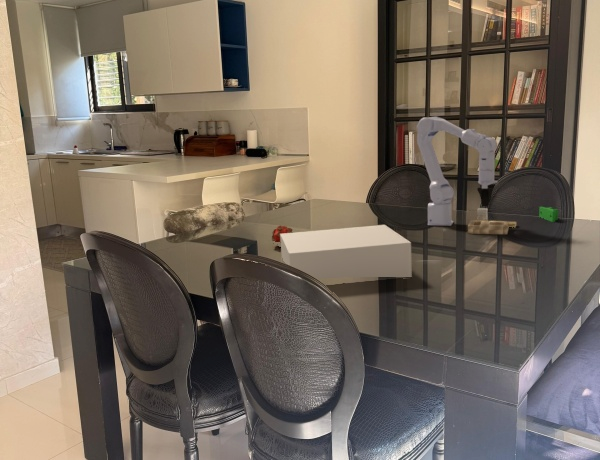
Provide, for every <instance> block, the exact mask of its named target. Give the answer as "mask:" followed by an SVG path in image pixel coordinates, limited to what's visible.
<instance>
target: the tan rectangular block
mask: <svg viewBox="0 0 600 460" xmlns="http://www.w3.org/2000/svg"><path fill="white" fill-rule="evenodd" d="M509 227H512V228H511V229H516V228H517V221H509ZM513 227H514V228H513Z"/></svg>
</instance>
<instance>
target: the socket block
mask: <svg viewBox="0 0 600 460" xmlns="http://www.w3.org/2000/svg"><path fill="white" fill-rule="evenodd" d="M509 222H510V221H509V220H487V221H477V220H470V221H469V223H468V225H467V234H477V235H478V234H479V235H481V234H482V235H508V233H509V229H510V228H509Z"/></svg>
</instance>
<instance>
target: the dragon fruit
mask: <svg viewBox="0 0 600 460" xmlns="http://www.w3.org/2000/svg"><path fill="white" fill-rule="evenodd" d="M271 233H272V236H271V241H272V242H273V241H275V242H280V243H281V240H280V234H284V233H294V232H293V228H291V227H288V226H287V225H279V226H277V227H276V228H274V229H273V230H272V232H271Z"/></svg>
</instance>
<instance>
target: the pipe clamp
mask: <svg viewBox="0 0 600 460" xmlns="http://www.w3.org/2000/svg"><path fill="white" fill-rule="evenodd" d="M538 208H539V209H538V210H539V212H538V217H539V218H540V217H541V219H543V218H544V220H545V221H546V220H547V221H548V222H552V223H555V222H556V221H558V220H559V209H557V208H554V209H553V207H550V206H549V207H544V206H538Z"/></svg>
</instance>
